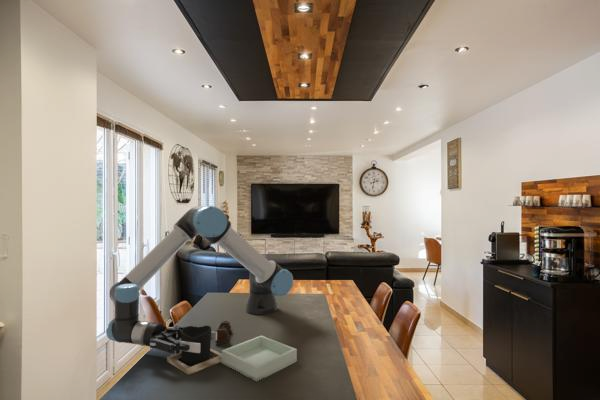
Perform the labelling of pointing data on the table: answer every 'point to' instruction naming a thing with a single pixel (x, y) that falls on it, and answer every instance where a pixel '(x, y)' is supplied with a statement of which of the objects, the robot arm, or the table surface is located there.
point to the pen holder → (196, 336)
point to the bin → (259, 357)
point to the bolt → (223, 332)
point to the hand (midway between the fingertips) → (208, 342)
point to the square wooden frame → (189, 370)
